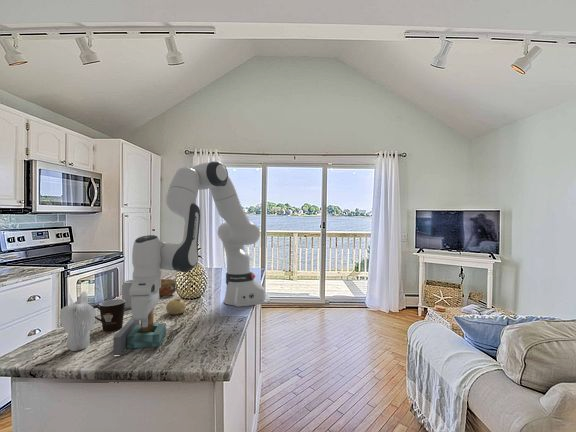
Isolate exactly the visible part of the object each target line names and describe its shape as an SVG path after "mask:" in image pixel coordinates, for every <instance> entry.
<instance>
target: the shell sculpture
mask: <svg viewBox="0 0 576 432" xmlns="http://www.w3.org/2000/svg"><path fill="white" fill-rule="evenodd" d="M88 297H89V296H88V293H87V291H86V290H83V291H81V292H80V294H79V296H78V298H77V299H76V300H75V302H73V303H72V302H71V303H70V304H68V305H65V306H63V307H62V308H61V309H60V311H59V320H60V325H61V327H62V328H63V330H64V331H65V332H66V333H67V335H68V336H67V340H66V347H67V349H68V350H70V351H72V352H75V351H76V352H77V351H80V350H83V349H86V348H88V347H89V345H90V342H91V341H90V331H91V330H92V328H93V327H94V324H95V322H96V319H95V316H96V317H97V312H96V310H95V308H93V307H94V306H92V305H91V304H89V298H88Z"/></svg>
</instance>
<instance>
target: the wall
mask: <svg viewBox="0 0 576 432" xmlns="http://www.w3.org/2000/svg"><path fill="white" fill-rule="evenodd" d="M136 325H140V320H134V319H133V316H131V318H130V319H129V320H128V321H127V322H126V323H125V324H124V325H122V328H121V329H120V330H118V332H117V333H116V334H115V335H114V336H113V342H112V343H113V344H112V345H113V356H114V355H121V354H122V353H123V354H124V353H125V351H126V350H127V336H128V334H129V333H130V332H131V331H132V330H133V328H134V327H135V326H136ZM125 349H126V350H125ZM124 350H125V351H124ZM123 354H122V355H123ZM122 355H121V356H122Z"/></svg>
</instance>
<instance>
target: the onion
mask: <svg viewBox="0 0 576 432" xmlns="http://www.w3.org/2000/svg"><path fill="white" fill-rule="evenodd" d="M186 306H187V305H186V302H185V300H183V299H181V297H179V298H177V297H176V298H173V299H170V300H169V301H168V302H167V304H166V306H165V307H166V308H165V310H166V312H167V314H169V315H171V316H172V315H173V316H175V315H180V314H182V313H184V312H185V310H186V308H187V307H186Z"/></svg>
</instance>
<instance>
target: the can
mask: <svg viewBox="0 0 576 432" xmlns="http://www.w3.org/2000/svg"><path fill="white" fill-rule="evenodd" d="M132 281H133V279H128V280H125V281H123V284H122V285H121V299H123V300H125V307H124V310H126V309H127V310H132V307H131V298H132V296H130V295H129V290H130V288H131V286H132Z"/></svg>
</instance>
